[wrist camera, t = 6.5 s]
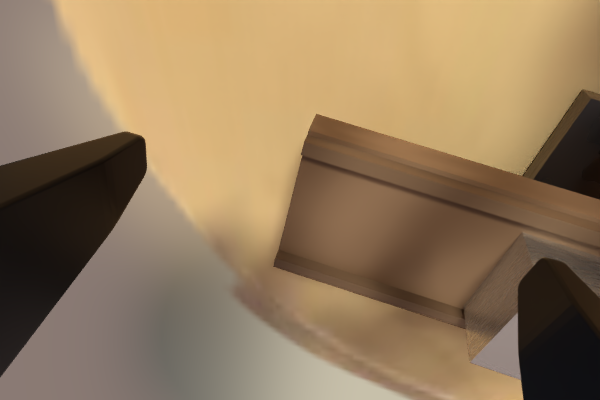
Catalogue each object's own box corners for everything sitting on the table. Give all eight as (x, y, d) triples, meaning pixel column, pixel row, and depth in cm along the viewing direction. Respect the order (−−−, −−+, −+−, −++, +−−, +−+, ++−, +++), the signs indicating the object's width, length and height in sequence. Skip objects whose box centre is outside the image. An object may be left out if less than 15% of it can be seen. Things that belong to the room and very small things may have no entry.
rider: (722, 296, 16) (776, 366, 13) (629, 361, 19) (659, 426, 16) (522, 232, 16) (540, 288, 14) (463, 306, 19) (469, 362, 17)
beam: (1021, 318, 15) (1105, 376, 13) (812, 409, 20) (852, 461, 18) (318, 106, 17) (306, 132, 15) (284, 239, 22) (272, 271, 20)
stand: (716, 126, 18) (830, 209, 13) (544, 302, 26) (576, 393, 21) (582, 89, 18) (647, 158, 13) (453, 276, 26) (465, 360, 21)
